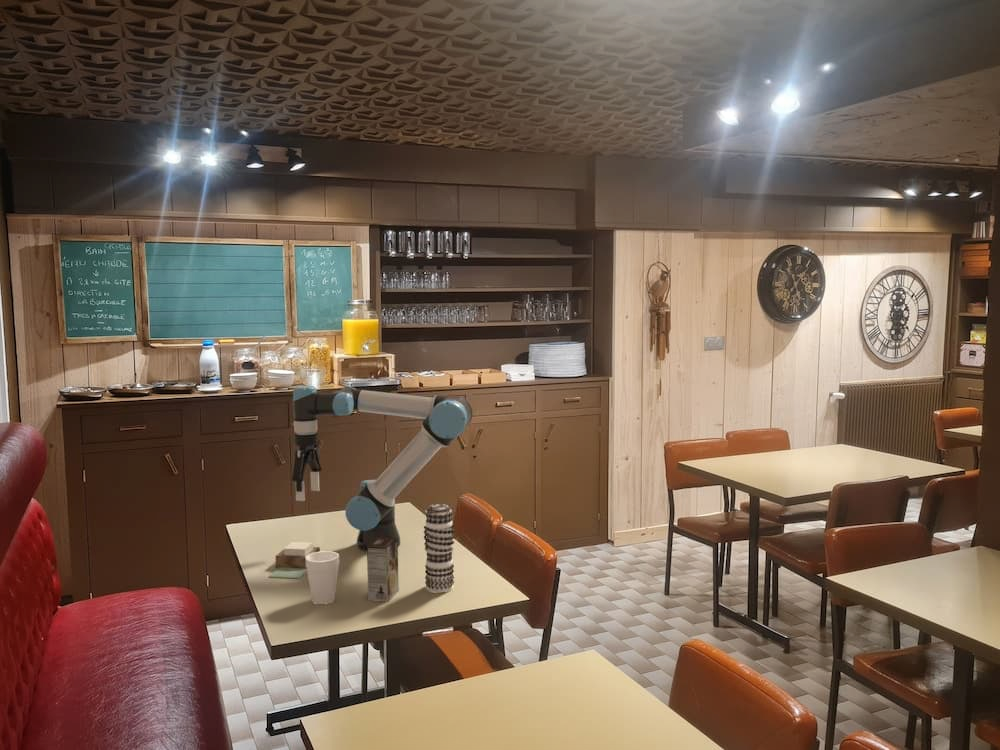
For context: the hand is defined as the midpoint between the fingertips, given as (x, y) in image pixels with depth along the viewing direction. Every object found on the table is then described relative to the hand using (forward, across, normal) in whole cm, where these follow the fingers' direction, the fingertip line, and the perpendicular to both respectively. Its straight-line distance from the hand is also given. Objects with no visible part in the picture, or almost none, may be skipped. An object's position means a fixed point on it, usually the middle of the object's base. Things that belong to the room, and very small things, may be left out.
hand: (308, 495), depth 257 cm
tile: (+17, +9, 0) cm, 19 cm away
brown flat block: (+21, +8, -1) cm, 22 cm away
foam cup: (+21, +38, +18) cm, 47 cm away
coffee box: (+21, +32, +34) cm, 51 cm away
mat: (+21, +18, 0) cm, 27 cm away
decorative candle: (+21, +24, +50) cm, 59 cm away
